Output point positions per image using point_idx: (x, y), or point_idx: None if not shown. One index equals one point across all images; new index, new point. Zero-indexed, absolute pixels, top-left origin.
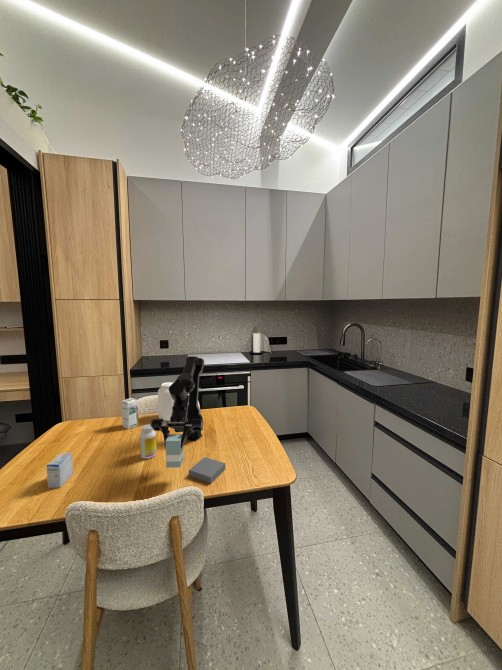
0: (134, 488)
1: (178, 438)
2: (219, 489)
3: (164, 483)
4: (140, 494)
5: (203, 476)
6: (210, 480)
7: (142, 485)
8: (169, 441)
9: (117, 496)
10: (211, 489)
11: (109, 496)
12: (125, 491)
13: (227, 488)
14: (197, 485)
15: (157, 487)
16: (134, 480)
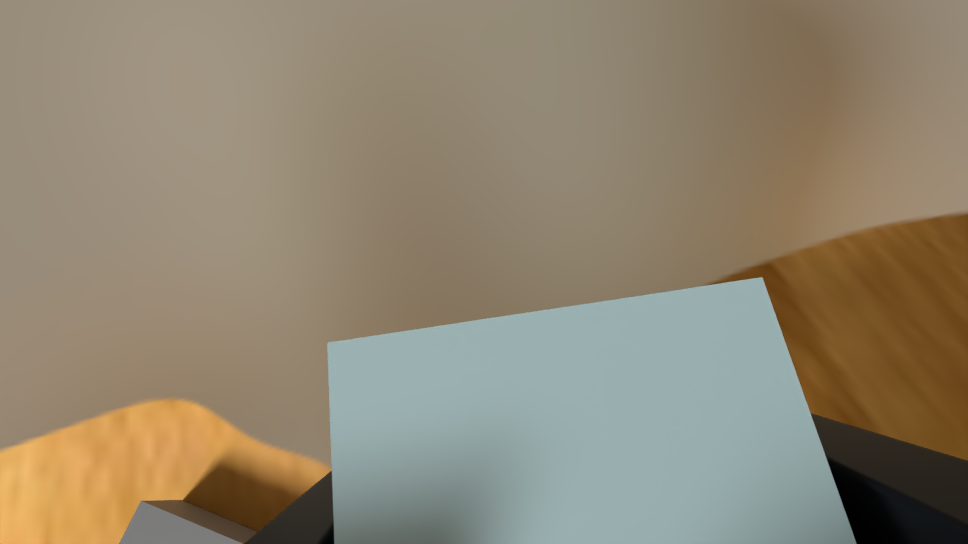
0: (844, 340)
1: (414, 482)
2: (106, 430)
3: None
4: (738, 280)
5: (235, 535)
6: (170, 502)
7: (804, 388)
8: (640, 306)
9: (902, 234)
10: (174, 420)
11: (965, 225)
12: (889, 294)
13: (36, 453)
14: (304, 458)
15: None
16: (939, 450)
